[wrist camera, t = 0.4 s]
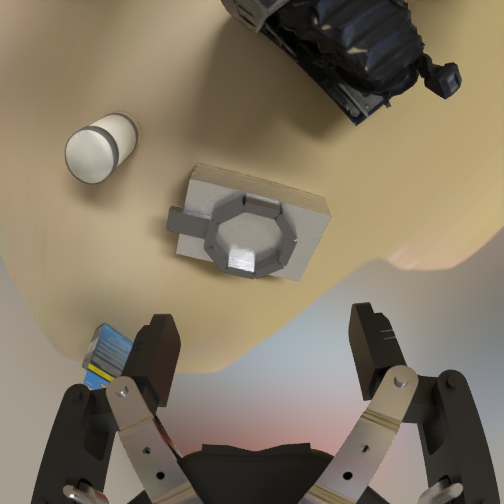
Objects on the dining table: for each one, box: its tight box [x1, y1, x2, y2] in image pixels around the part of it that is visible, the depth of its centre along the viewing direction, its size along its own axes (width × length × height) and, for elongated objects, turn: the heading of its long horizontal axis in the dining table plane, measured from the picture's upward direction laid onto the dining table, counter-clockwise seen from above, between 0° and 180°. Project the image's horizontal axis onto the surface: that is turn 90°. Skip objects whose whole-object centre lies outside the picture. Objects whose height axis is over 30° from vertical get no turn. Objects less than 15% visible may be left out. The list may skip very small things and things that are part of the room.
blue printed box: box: [82, 323, 133, 390], centre depth 45 cm, size 9×4×12 cm, turn 37°
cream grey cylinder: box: [65, 111, 141, 184], centre depth 25 cm, size 5×5×7 cm
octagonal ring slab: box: [166, 163, 332, 281], centre depth 32 cm, size 9×15×6 cm, turn 74°
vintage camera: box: [221, 0, 462, 126], centre depth 14 cm, size 10×16×20 cm, turn 47°
